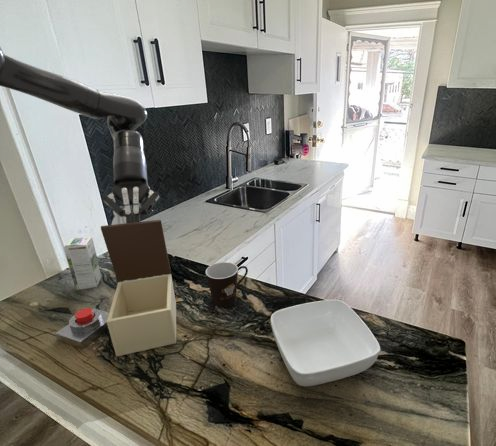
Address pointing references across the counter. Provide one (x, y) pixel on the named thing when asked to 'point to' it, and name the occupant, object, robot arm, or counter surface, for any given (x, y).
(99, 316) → the control block
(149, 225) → the lid
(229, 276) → the coffee mug
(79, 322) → the button
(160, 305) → the cream hinged box
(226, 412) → the counter surface
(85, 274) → the syrup box
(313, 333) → the bowl
